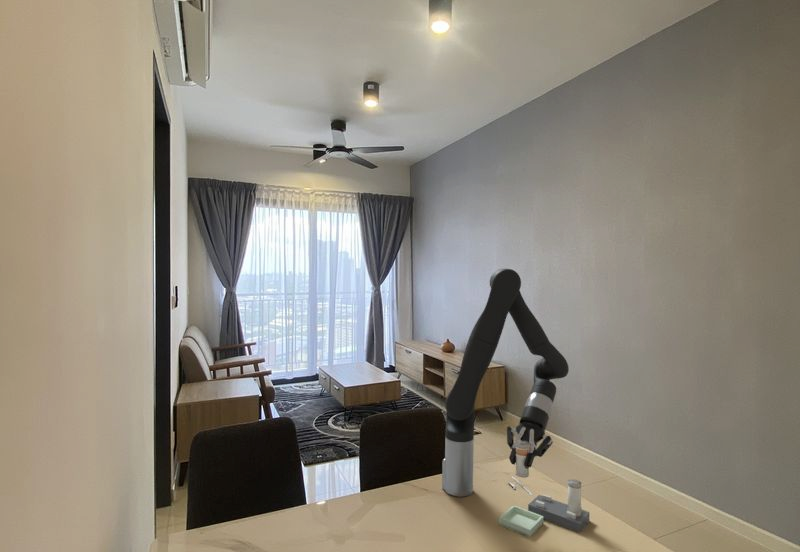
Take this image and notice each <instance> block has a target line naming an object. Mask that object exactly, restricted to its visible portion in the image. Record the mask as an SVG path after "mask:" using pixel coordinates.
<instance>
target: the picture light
mask: <svg viewBox="0 0 800 552" xmlns="http://www.w3.org/2000/svg"><path fill="white" fill-rule="evenodd" d="M511 479H513V480H514V482H513V483H512V482H508V483H507V485H510V486H511V487H512V488H513V490H516V488H517V487H516V484H518V485H519V486H520V487H521V488H522V489H524V490H525V491H526V492H527V493H528V494H529V495H530V496H531V497H533V493H532V492H531V491H530V490H529V489H527V488H526V487H525V486H524V484H523V483H522V481H520V480H518V479H516V477H514V476H511Z"/></svg>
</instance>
